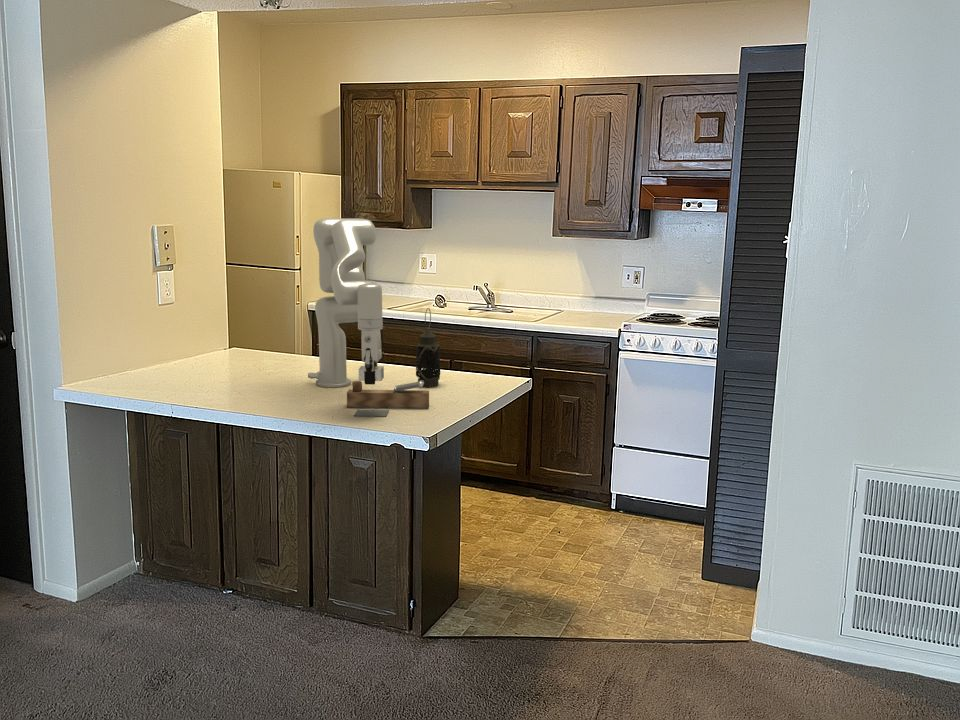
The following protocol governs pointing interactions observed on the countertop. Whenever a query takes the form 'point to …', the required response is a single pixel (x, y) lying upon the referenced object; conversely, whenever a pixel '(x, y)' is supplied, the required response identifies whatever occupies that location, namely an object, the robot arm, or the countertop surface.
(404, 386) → the lever
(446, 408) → the countertop surface
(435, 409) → the countertop surface
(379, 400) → the plane body
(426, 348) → the lantern
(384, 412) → the mat
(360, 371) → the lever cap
